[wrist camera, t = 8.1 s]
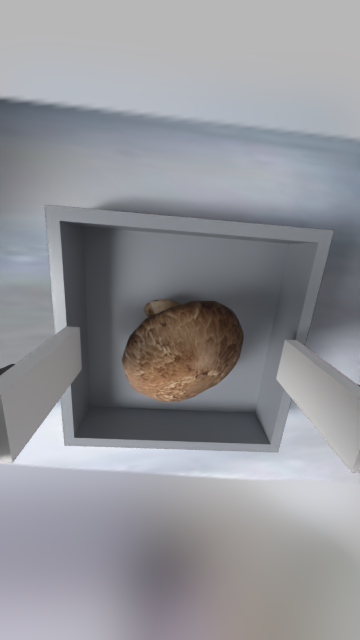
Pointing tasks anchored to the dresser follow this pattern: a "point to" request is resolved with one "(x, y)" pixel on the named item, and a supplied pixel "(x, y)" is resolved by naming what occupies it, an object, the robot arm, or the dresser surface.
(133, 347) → the mushroom
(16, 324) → the dresser surface
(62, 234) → the tray
